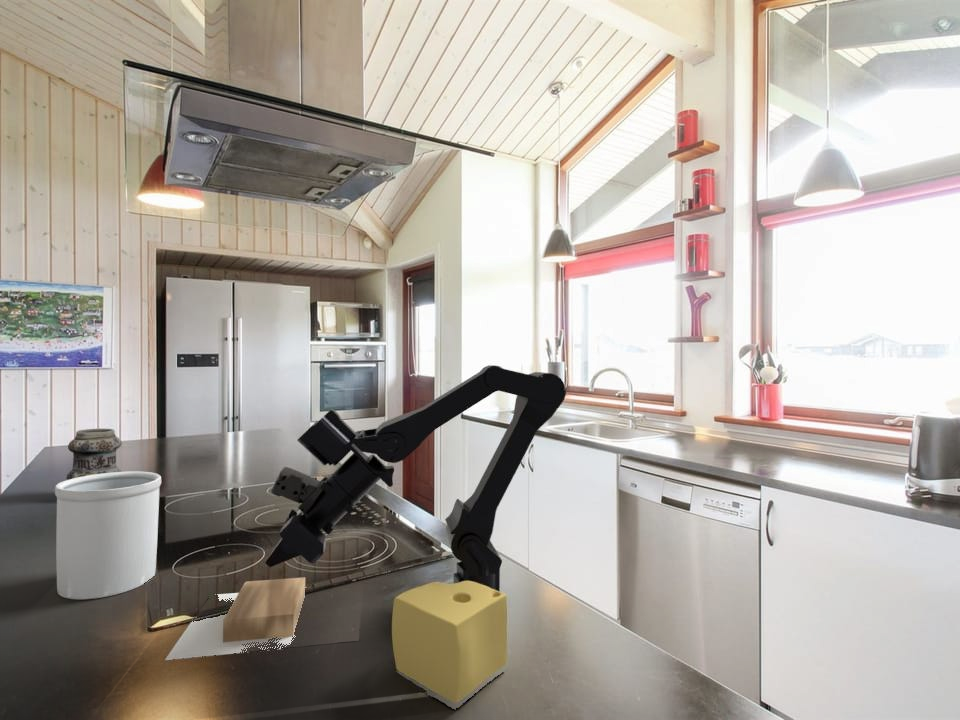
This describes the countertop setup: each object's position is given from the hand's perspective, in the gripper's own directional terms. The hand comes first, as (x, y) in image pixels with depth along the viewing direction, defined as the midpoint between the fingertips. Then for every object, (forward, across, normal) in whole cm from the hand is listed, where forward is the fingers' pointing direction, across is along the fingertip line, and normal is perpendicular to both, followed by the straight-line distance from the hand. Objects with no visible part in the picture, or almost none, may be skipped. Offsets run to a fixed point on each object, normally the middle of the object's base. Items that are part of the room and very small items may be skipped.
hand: (267, 564), depth 76 cm
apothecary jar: (+49, -79, -36) cm, 100 cm away
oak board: (+1, 0, +8) cm, 8 cm away
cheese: (-12, +18, +24) cm, 32 cm away
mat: (+5, 0, +7) cm, 8 cm away
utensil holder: (+27, -19, -14) cm, 36 cm away
